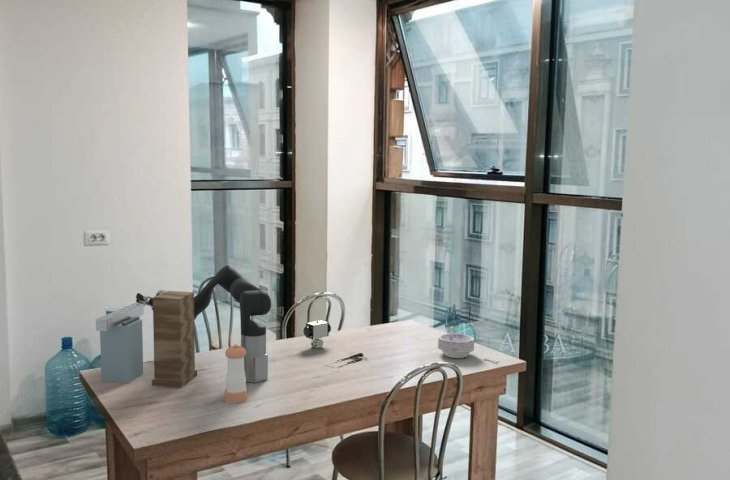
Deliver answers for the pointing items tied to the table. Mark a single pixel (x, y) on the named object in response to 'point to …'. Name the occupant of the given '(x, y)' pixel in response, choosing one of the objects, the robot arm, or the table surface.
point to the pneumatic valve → (317, 332)
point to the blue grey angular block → (122, 352)
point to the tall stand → (173, 339)
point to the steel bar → (119, 317)
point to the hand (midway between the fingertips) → (147, 296)
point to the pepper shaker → (235, 375)
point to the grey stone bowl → (456, 345)
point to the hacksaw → (355, 357)
